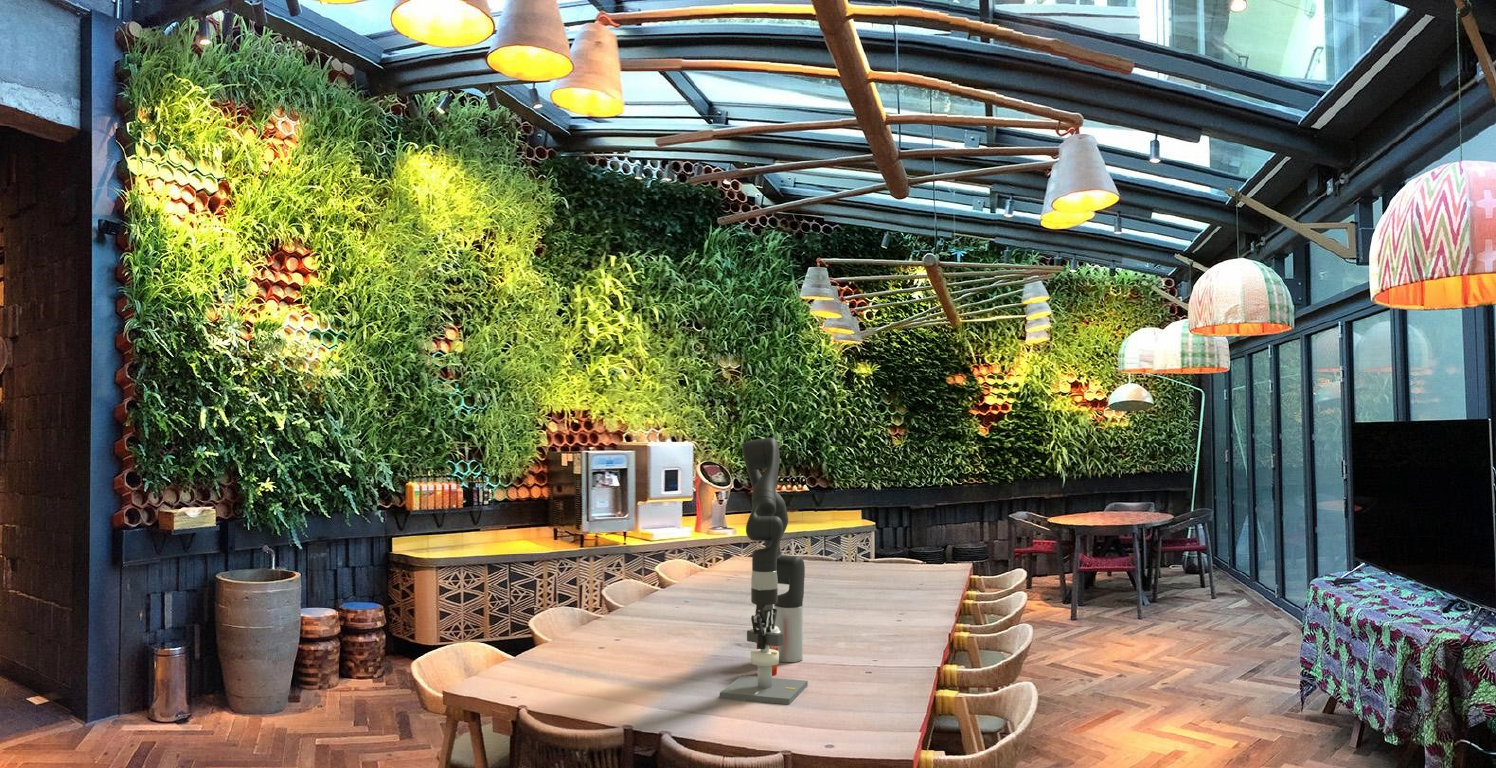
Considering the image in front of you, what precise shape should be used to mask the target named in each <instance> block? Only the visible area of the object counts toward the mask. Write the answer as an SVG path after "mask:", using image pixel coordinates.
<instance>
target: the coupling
mask: <svg viewBox="0 0 1496 768" xmlns="http://www.w3.org/2000/svg"><path fill="white" fill-rule="evenodd" d="M765 636H766V648H765V649H757V648H756V649H753V650H751V651H750V664H751V665H753V666H757V667H758V666H773V665H777V666H778V664H780V661H779V651H777V650H773V649H769V645H772V646H781V645H783V634H778V633H772V632H766V635H765ZM746 641H747V642H749V643H756V644H757V643H758V635H756V634H754V631H753V628H751V629H748V630H746Z"/></svg>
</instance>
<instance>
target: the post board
mask: <svg viewBox="0 0 1496 768" xmlns="http://www.w3.org/2000/svg"><path fill="white" fill-rule="evenodd" d="M808 683H809V682H808V680H801V679H792V678H778V677H773V676H772V666H757V676H756V675H755V676H754V675H744V674H743V675H741V676H739V677H738V678H737V679H736V680H734V681H733V682H731V683H730V684H729V685H728V686H726V687H725V688H724V689H722V690H721V691H720V692H719V699H725V700H726V699H728V700H738V701H750V702H759V703H760V702H761V703H771V704H783V705H791V703H792V702H794V701H795V700H796V699H797V698H798V696H799V695H801V693H802V692H803V691H805V689H806V688H807V687H808Z"/></svg>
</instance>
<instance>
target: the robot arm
mask: <svg viewBox="0 0 1496 768" xmlns="http://www.w3.org/2000/svg"><path fill="white" fill-rule="evenodd" d="M742 456H743V462H744V464H745V468H746V471H747V474H748V477H749V481H750V484H751V488H752V494H751V499H752V500H751V505H752V506H751V512H750V514H749V517H748V519H747V522H746V525H745V526H746V527H745V534H746V536H747V537H748V539H749V540H751V541H755V542H761V541H762V542H764V547H762V548H758V549H754V550H753V552H752V555H751V556H752V557H751V565H752V566H751V568H752V569H751V579H750V580H751V581H750V583H751V584H750V585H751V589H750V590H751V591H750V594H751V596H750V597H751V598H750V601H751V604H753V605H756V607H755V614H754V615H753V614H752V615H751V617H750V620H751V625H752V629H753V631H754V634H756V635H758V649H765V648H766V636H765V635H766V632H772V629H774V628H775V626H777V627H778V628H779V630H780V631H781V632H780V633H779V634H783V645H781V646H778V651H779V662H784V663H795V662H796V663H797V662H800V661H803V656H804V655H803V651H804V650H803V649H804V648H803V647H804V645H803V640H804V639H803V638H804V637H803V636H804V634H803V625H804V622H803V621H804V619H803V617H804V616H803V612H804V611H803V609H804V608H803V605H804V604H803V602H804V596H805V595H804V594H805V578H806V576H805V574H806V567H805V562H804V559H803V558H802V557H801V556H799V555H798V556H797V555H788V554H787V555H786V554H784V555H783V554H782V551H781V540H782V539H783V536H784V534H785V533H786V532H785V531H786V529H787V527H788V525H789V524H788V523H789V514H788V510H787V506H786V501H785V500H784V498H783V497H782V496H781V494H780V493H779V492H777V482H778V477H779V470H780V469H779V468H780V461H781V460H780V459H781V457H780V456H781V455H780V447H779V445H778V441H777V440H776V438H774V437H764V438H758V439H752V440H747V441H745V442H744V443H743V444H742ZM762 469H765V471H764V472H763V474H762V473H761V472H760V470H762ZM778 584H780V585H788V586H789V587H788V591H786V592H783V593H781V594H778V589H779V588H778ZM773 605H774V606H773ZM756 628H757V629H756ZM769 646H771V645H769Z"/></svg>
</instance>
